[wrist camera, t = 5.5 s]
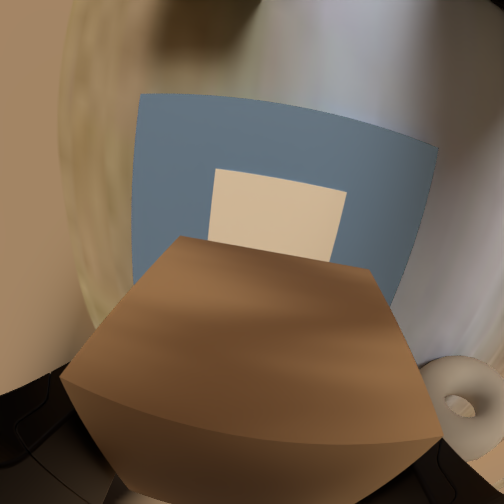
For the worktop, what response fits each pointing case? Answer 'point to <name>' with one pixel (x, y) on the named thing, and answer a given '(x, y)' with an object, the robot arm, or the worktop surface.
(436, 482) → the robot arm
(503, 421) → the donut
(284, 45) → the worktop surface
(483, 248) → the worktop surface
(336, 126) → the board
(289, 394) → the walnut cube
